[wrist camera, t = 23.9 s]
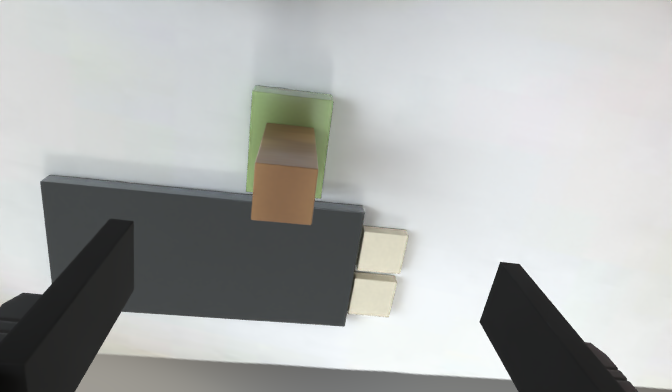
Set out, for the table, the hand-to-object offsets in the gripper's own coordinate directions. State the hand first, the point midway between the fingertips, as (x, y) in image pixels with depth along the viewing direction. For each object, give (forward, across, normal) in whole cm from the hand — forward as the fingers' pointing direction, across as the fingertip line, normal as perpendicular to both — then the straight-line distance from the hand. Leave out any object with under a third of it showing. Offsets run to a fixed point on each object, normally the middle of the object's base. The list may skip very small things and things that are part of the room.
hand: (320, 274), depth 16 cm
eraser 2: (+22, +8, -15) cm, 28 cm away
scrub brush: (+22, -2, -2) cm, 23 cm away
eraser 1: (+22, +8, -11) cm, 26 cm away
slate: (+22, -7, -13) cm, 27 cm away
